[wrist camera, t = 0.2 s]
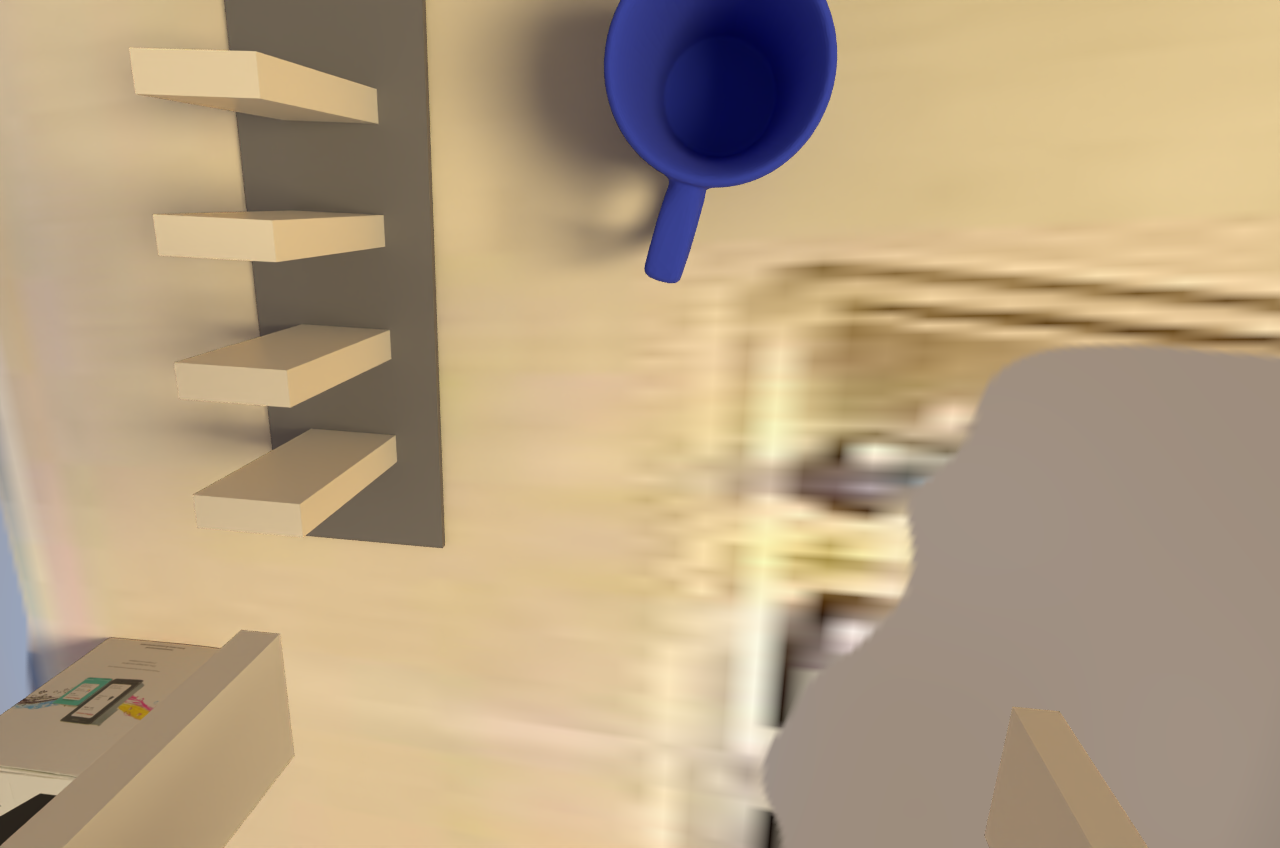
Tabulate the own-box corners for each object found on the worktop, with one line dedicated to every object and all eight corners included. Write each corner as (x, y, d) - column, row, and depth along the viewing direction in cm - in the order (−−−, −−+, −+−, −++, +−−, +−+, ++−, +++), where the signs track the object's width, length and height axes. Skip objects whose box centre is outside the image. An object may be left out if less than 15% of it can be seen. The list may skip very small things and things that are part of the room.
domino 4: (311, 428, 43) (192, 494, 33) (395, 435, 42) (299, 504, 33) (313, 455, 43) (197, 527, 34) (397, 461, 43) (303, 537, 33)
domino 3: (301, 324, 41) (173, 362, 31) (389, 329, 40) (286, 370, 31) (304, 353, 41) (178, 399, 32) (391, 358, 41) (290, 407, 31)
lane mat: (216, -127, 35) (210, -131, 35) (420, -126, 34) (417, -129, 34) (284, 530, 45) (281, 533, 45) (445, 545, 44) (442, 548, 44)
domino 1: (280, 85, 37) (128, 47, 28) (376, 89, 37) (255, 51, 27) (283, 120, 38) (135, 93, 28) (378, 123, 37) (260, 98, 28)
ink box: (244, 755, 51) (109, 910, 40) (127, 742, 52) (-36, 891, 41) (227, 646, 48) (79, 779, 37) (105, 634, 49) (-75, 761, 38)
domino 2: (291, 210, 39) (152, 214, 30) (383, 214, 39) (272, 220, 29) (294, 241, 40) (158, 255, 30) (385, 246, 39) (276, 262, 30)
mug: (597, 240, 38) (555, 255, 29) (661, -17, 35) (637, -99, 25) (751, 285, 38) (760, 314, 29) (832, 31, 34) (873, -33, 25)
